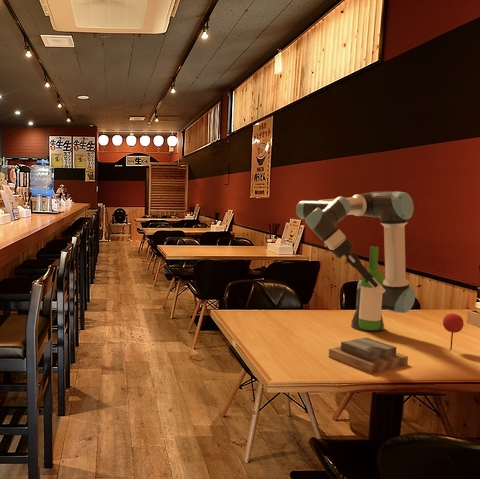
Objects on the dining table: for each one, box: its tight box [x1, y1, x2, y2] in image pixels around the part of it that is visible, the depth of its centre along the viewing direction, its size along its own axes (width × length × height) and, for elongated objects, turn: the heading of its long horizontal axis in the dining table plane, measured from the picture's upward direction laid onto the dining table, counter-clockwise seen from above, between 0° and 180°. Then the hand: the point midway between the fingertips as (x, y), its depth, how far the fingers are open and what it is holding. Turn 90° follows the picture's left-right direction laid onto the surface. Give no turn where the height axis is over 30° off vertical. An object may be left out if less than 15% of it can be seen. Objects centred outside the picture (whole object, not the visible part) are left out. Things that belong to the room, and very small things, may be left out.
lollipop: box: [442, 313, 465, 351], centre depth 190 cm, size 8×8×15 cm
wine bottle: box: [359, 246, 384, 330], centre depth 170 cm, size 8×8×30 cm
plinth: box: [328, 337, 409, 374], centre depth 171 cm, size 20×20×6 cm
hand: (381, 290), depth 169 cm, fingers closed on wine bottle, 8 cm apart
